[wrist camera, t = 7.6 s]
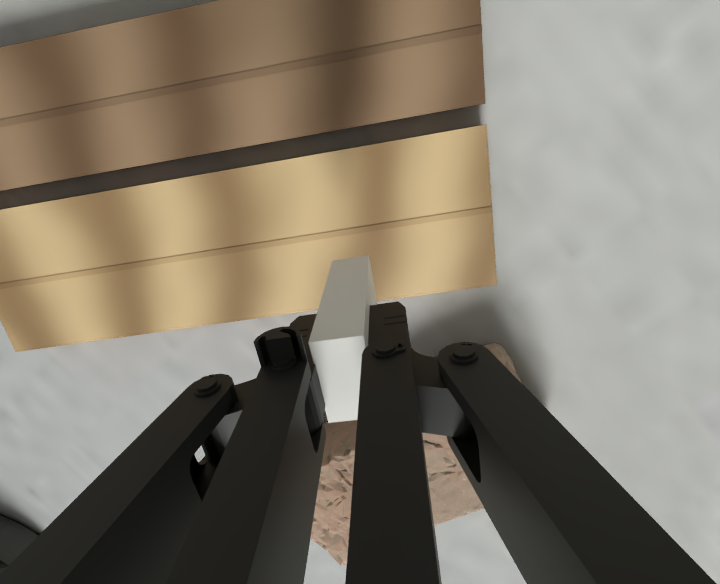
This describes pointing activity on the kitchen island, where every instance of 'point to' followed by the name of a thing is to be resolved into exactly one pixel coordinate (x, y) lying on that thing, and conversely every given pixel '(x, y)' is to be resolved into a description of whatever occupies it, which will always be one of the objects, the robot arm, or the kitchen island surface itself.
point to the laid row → (229, 80)
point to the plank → (248, 241)
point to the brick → (336, 480)
